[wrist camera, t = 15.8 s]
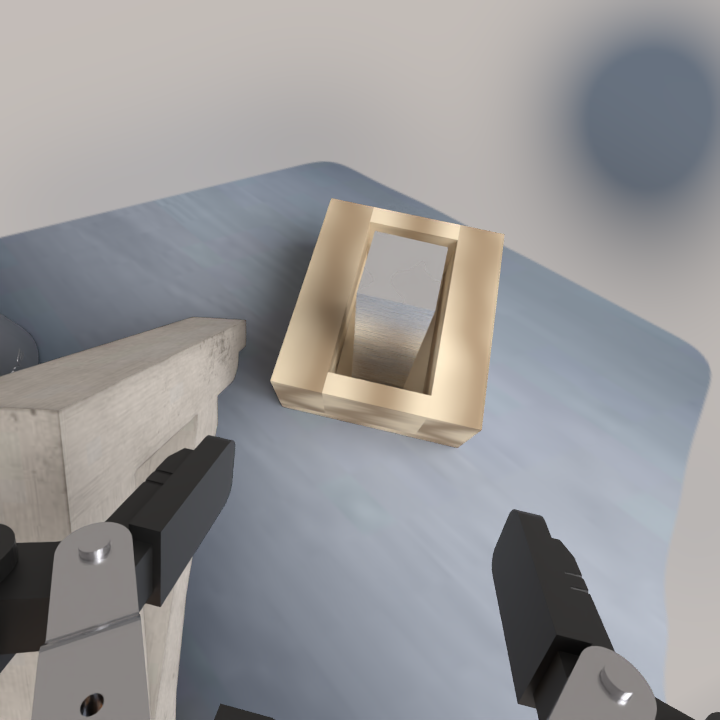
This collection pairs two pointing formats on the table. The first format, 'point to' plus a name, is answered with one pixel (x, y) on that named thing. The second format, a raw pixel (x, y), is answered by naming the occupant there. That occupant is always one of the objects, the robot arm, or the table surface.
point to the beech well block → (438, 349)
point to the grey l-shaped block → (395, 307)
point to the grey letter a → (109, 459)
